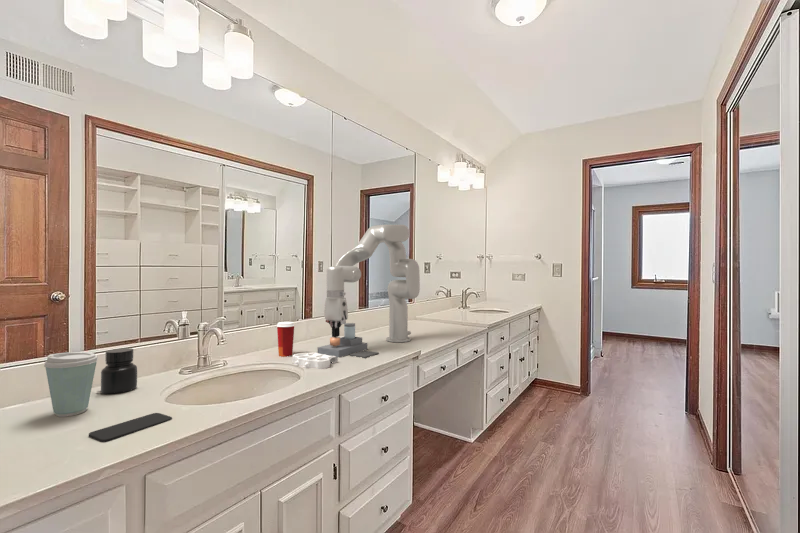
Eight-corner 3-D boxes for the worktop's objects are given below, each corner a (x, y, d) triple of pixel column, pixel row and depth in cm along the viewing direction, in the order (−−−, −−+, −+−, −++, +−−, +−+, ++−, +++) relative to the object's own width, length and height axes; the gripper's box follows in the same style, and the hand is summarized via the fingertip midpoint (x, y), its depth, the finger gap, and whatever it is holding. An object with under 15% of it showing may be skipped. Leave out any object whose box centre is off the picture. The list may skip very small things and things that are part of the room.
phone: (174, 417, 94) (103, 440, 81) (174, 421, 94) (103, 444, 81) (156, 412, 98) (86, 433, 84) (156, 415, 98) (86, 437, 84)
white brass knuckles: (343, 364, 151) (315, 372, 139) (312, 358, 161) (283, 365, 149) (343, 355, 151) (315, 363, 139) (312, 350, 161) (283, 356, 150)
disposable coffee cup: (92, 402, 106) (92, 347, 106) (103, 411, 99) (104, 353, 99) (39, 413, 97) (40, 354, 97) (47, 424, 90) (48, 360, 91)
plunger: (334, 351, 171) (334, 336, 171) (342, 352, 169) (342, 337, 169) (327, 353, 167) (327, 338, 167) (335, 354, 165) (335, 339, 165)
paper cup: (297, 353, 168) (297, 321, 168) (290, 357, 161) (291, 324, 161) (280, 353, 169) (280, 321, 169) (272, 357, 161) (273, 323, 162)
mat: (364, 351, 173) (364, 350, 173) (378, 353, 168) (378, 352, 168) (349, 355, 164) (350, 354, 164) (365, 358, 160) (365, 356, 160)
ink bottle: (141, 384, 122) (142, 346, 123) (134, 392, 114) (134, 352, 114) (104, 387, 119) (105, 348, 119) (94, 396, 111) (94, 354, 111)
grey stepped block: (347, 346, 184) (347, 335, 184) (367, 349, 178) (367, 337, 178) (317, 354, 167) (317, 341, 167) (338, 357, 161) (338, 344, 161)
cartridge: (348, 342, 180) (348, 322, 180) (357, 343, 177) (357, 323, 177) (341, 343, 176) (341, 323, 176) (350, 344, 173) (350, 324, 173)
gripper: (354, 294, 167) (354, 336, 167) (328, 293, 175) (328, 333, 175) (343, 295, 161) (343, 339, 161) (316, 294, 169) (317, 336, 169)
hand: (335, 336), depth 168 cm, fingers closed
